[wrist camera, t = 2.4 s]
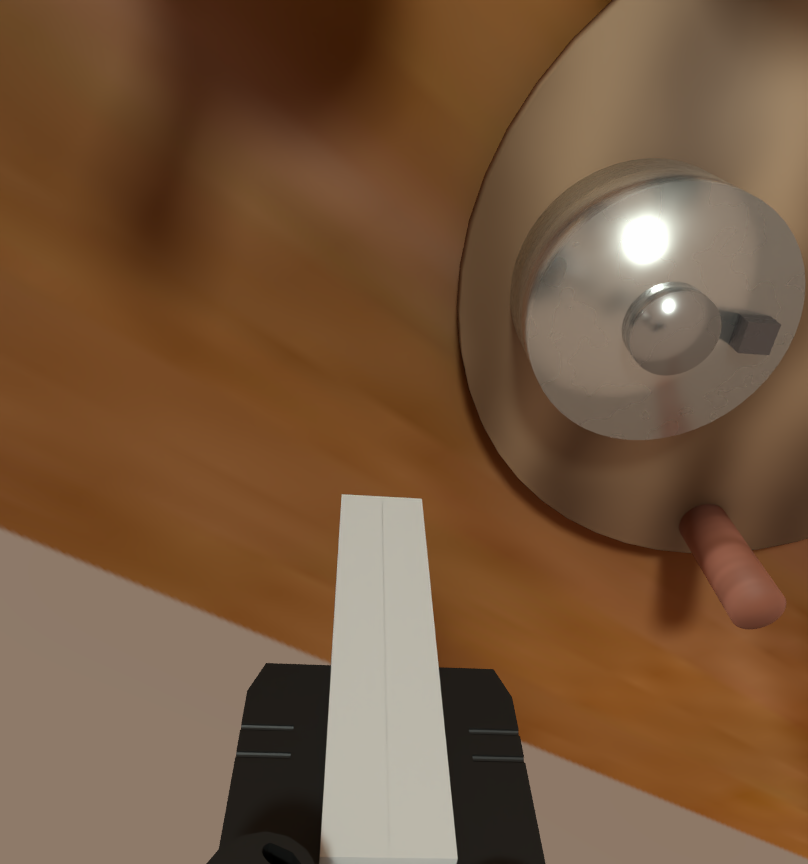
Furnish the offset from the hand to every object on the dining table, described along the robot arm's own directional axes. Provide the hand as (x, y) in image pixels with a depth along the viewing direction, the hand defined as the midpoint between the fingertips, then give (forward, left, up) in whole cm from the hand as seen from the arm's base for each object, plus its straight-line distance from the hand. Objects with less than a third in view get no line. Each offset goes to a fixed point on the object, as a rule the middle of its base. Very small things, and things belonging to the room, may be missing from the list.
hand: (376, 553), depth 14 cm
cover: (+11, 0, -17) cm, 20 cm away
